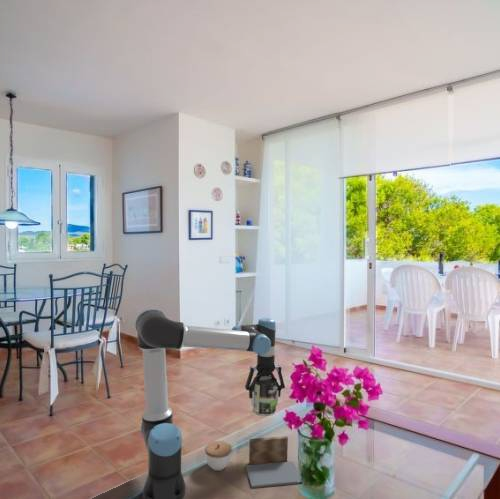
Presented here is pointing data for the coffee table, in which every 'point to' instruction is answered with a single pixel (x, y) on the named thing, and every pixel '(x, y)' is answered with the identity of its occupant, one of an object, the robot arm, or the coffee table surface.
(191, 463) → the coffee table surface
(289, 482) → the slate mat
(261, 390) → the coffee can
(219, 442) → the lidded jar
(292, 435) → the coffee table surface
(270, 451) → the walnut screen
